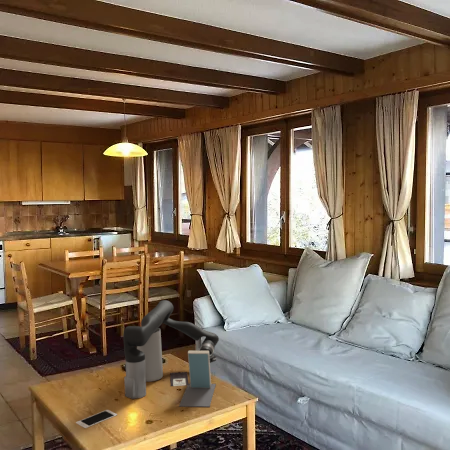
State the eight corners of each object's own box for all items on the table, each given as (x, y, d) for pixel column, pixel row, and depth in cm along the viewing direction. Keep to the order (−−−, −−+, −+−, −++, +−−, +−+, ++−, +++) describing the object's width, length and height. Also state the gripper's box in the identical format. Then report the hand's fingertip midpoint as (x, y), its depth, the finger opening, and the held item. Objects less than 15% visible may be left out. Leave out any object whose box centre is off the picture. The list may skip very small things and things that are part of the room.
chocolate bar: (187, 371, 266) (188, 385, 248) (187, 373, 266) (188, 386, 248) (170, 372, 265) (170, 386, 247) (170, 374, 265) (170, 387, 247)
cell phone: (75, 423, 211) (75, 422, 211) (107, 410, 223) (107, 409, 223) (85, 429, 206) (85, 427, 206) (117, 415, 217) (117, 414, 217)
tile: (191, 384, 247) (188, 350, 240) (211, 385, 246) (209, 350, 239) (190, 388, 245) (187, 353, 238) (210, 388, 244) (208, 353, 237)
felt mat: (209, 407, 223) (209, 406, 223) (179, 406, 225) (179, 405, 225) (215, 384, 249) (215, 383, 249) (188, 384, 250) (188, 383, 250)
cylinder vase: (142, 373, 267) (139, 327, 265) (165, 373, 266) (162, 327, 264) (136, 382, 255) (133, 334, 253) (159, 382, 253) (157, 333, 252)
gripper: (218, 359, 260) (215, 372, 243) (193, 359, 262) (188, 371, 244) (218, 345, 260) (214, 357, 242) (193, 345, 261) (188, 356, 244)
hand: (201, 364), depth 243 cm, fingers closed
